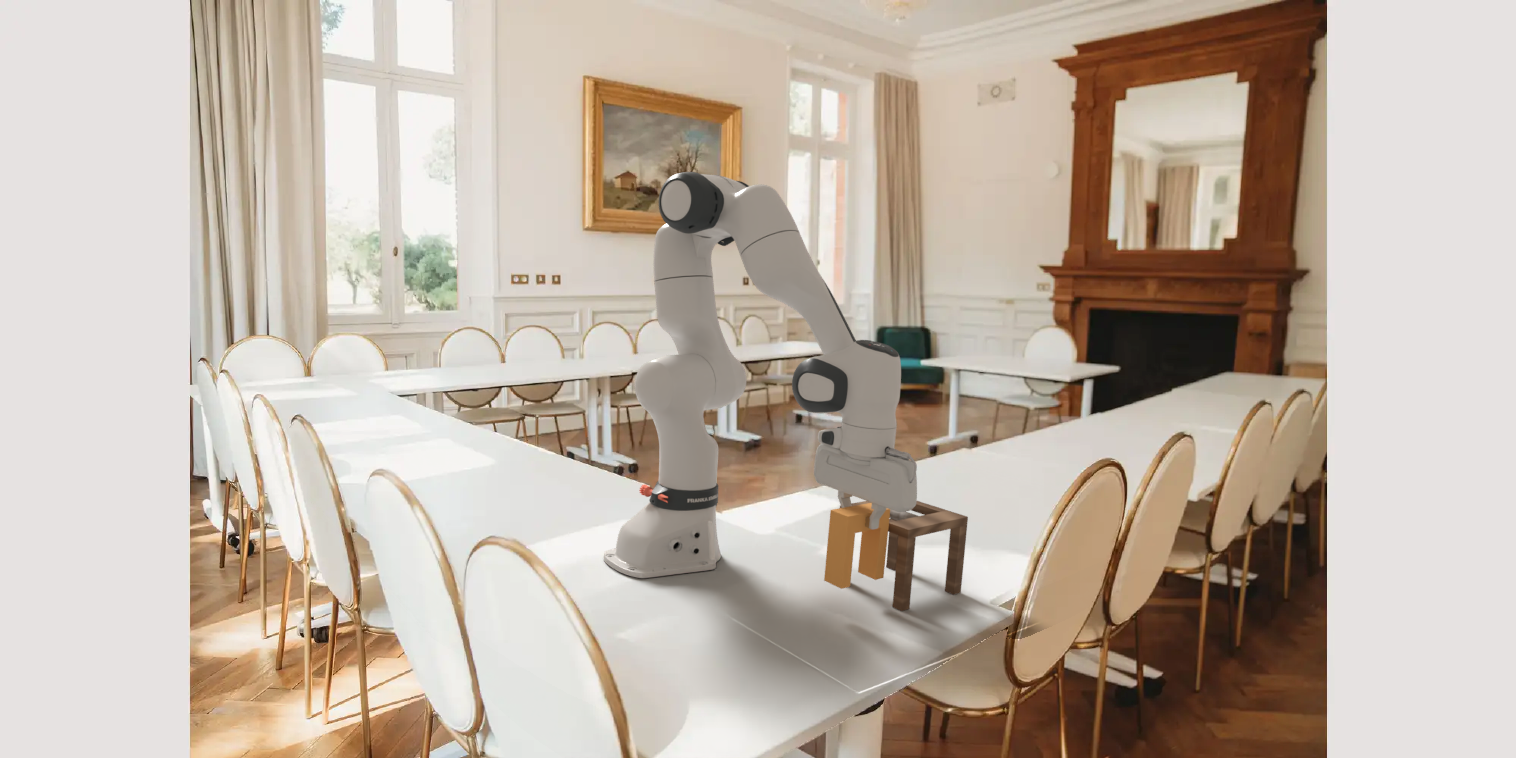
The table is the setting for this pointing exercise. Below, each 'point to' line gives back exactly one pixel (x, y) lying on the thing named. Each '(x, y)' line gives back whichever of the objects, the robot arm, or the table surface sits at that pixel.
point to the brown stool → (903, 546)
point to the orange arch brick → (842, 544)
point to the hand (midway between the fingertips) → (859, 523)
